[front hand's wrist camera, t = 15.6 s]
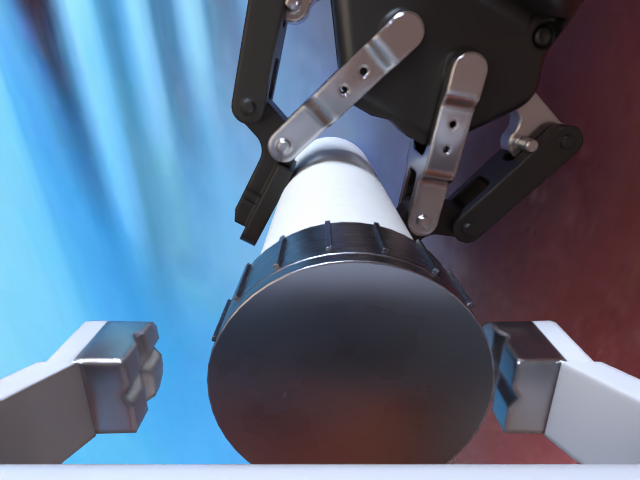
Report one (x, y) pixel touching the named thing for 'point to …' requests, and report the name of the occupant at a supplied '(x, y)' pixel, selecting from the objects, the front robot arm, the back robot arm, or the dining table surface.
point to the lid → (349, 353)
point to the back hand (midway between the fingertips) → (305, 261)
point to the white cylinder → (332, 192)
